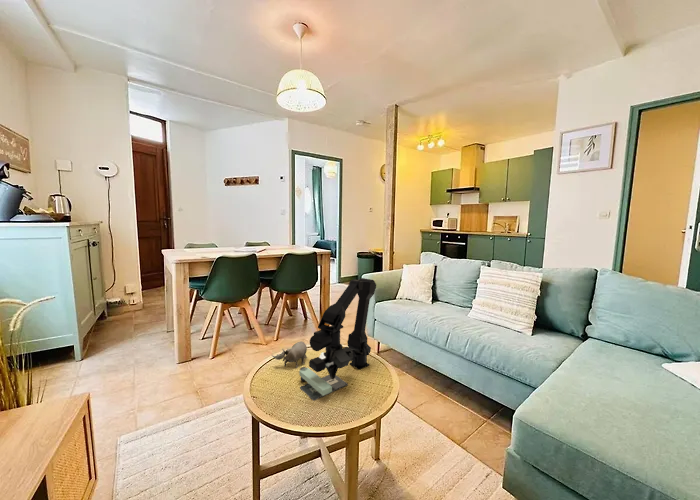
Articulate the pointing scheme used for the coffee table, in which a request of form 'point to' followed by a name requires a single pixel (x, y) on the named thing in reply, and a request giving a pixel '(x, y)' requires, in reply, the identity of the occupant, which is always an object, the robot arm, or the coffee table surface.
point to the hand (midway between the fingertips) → (332, 378)
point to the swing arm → (315, 381)
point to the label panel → (335, 383)
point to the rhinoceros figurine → (293, 353)
